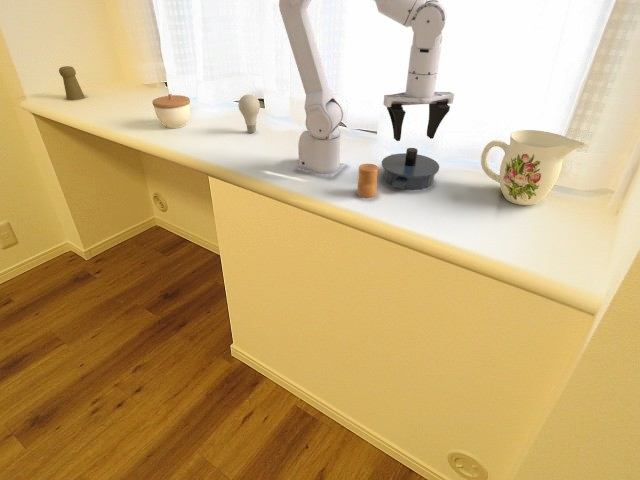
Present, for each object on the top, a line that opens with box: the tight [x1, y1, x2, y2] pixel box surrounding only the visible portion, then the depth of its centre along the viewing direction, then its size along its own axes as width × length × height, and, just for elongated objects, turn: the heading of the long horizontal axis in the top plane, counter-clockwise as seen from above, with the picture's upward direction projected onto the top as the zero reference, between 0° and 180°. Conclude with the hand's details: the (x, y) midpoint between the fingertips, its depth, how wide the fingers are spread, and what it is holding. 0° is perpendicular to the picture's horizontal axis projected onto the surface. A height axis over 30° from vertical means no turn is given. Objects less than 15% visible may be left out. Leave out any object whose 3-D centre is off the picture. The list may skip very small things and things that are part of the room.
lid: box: [381, 147, 440, 178], centre depth 91 cm, size 13×13×4 cm
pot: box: [383, 169, 435, 191], centre depth 93 cm, size 11×17×4 cm
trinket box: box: [152, 93, 192, 129], centre depth 124 cm, size 11×11×9 cm
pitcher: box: [480, 129, 587, 206], centre depth 83 cm, size 11×18×14 cm, turn 51°
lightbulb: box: [238, 93, 261, 134], centre depth 118 cm, size 6×6×11 cm
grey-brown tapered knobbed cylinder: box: [58, 65, 86, 101], centre depth 149 cm, size 6×6×11 cm
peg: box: [357, 163, 379, 199], centre depth 86 cm, size 4×4×7 cm
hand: (413, 138), depth 88 cm, fingers open, 7 cm apart
